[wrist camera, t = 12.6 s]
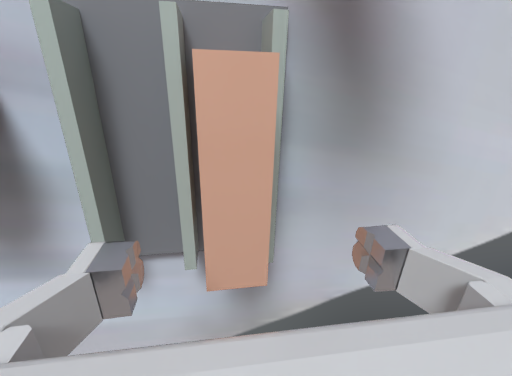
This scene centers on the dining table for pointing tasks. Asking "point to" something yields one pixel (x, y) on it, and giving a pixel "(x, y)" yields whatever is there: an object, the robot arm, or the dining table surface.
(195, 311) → the dining table surface
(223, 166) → the terracotta tile
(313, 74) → the dining table surface
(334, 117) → the dining table surface
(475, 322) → the robot arm
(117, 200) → the slotted rail base
